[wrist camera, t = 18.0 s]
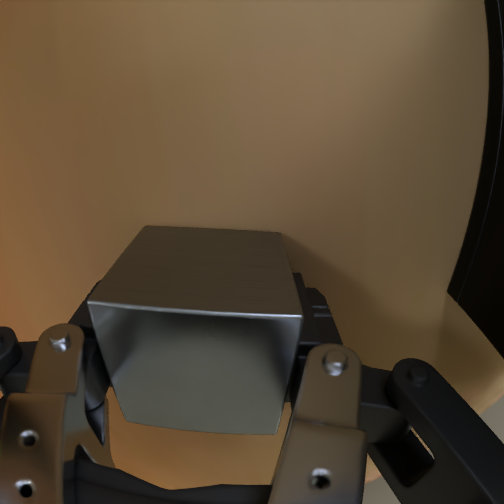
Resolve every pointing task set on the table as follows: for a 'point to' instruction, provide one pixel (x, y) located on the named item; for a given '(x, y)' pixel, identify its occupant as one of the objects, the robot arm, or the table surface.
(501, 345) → the black open box
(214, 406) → the steel block
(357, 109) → the table surface
